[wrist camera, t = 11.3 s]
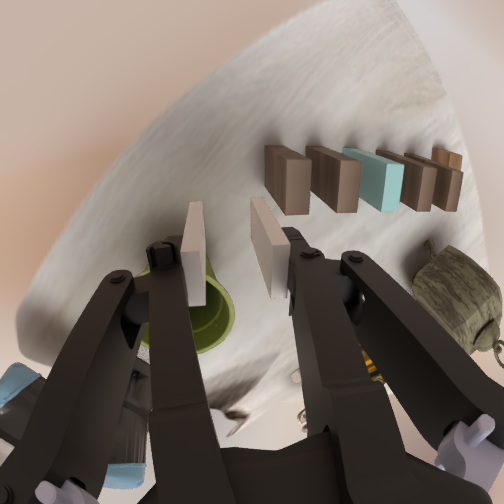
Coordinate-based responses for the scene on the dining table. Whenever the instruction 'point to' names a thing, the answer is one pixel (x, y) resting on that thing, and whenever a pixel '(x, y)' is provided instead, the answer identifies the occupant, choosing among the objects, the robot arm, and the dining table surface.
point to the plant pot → (207, 315)
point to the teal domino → (378, 180)
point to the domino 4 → (443, 184)
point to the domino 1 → (288, 179)
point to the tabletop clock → (461, 299)
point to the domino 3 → (414, 181)
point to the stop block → (447, 158)
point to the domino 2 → (335, 178)
